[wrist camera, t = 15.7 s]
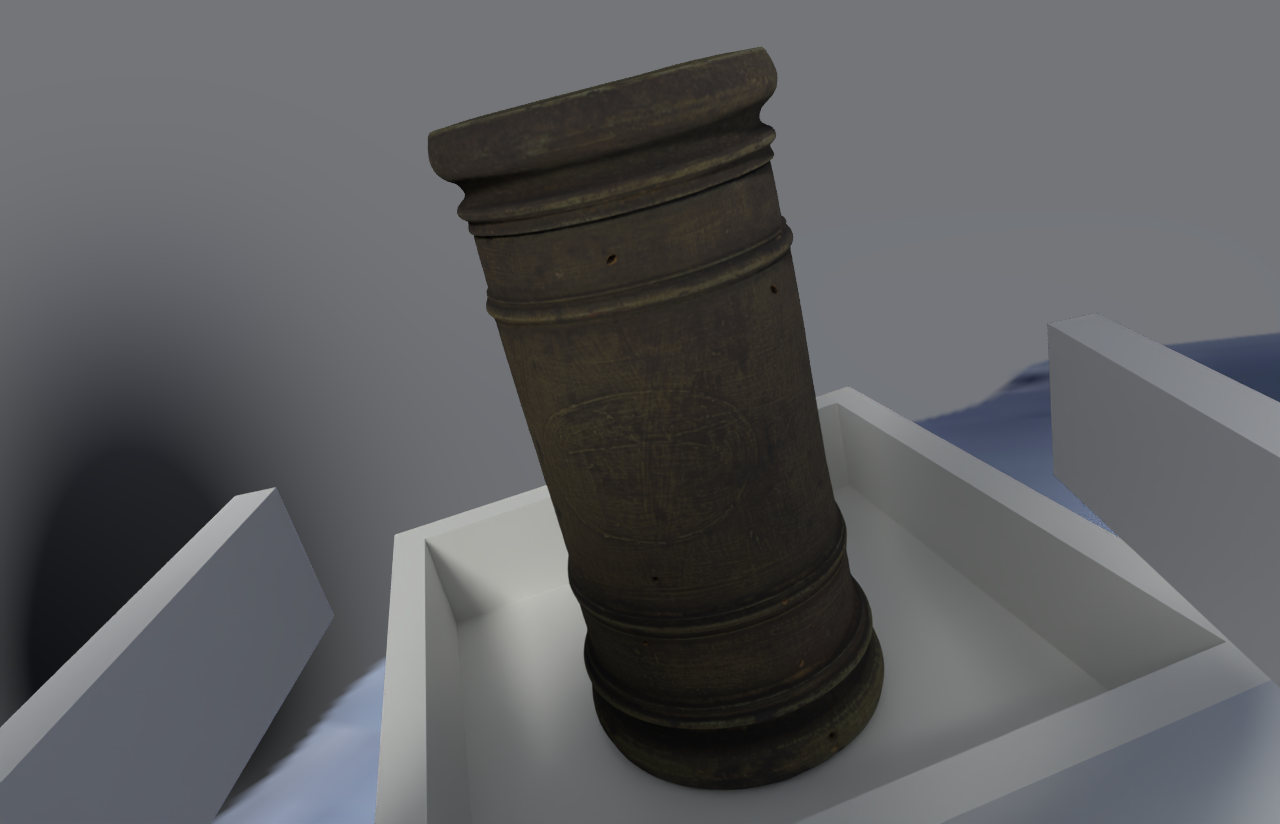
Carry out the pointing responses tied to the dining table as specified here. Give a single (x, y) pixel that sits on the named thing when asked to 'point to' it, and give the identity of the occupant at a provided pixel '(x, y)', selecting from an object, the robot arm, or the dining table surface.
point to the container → (675, 415)
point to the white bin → (913, 669)
